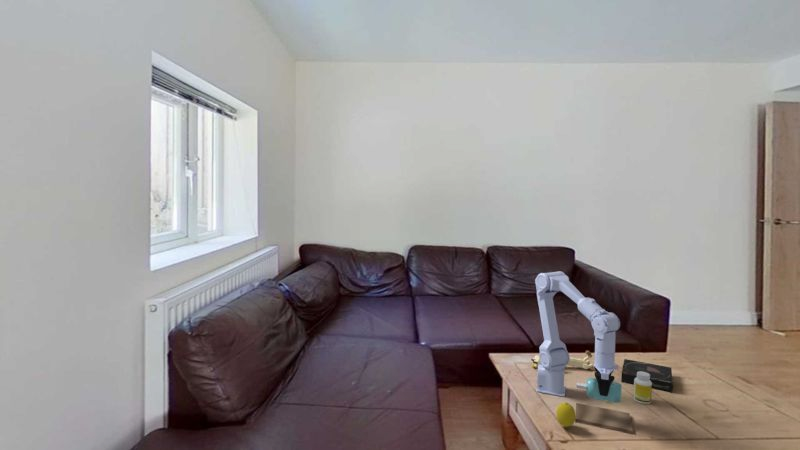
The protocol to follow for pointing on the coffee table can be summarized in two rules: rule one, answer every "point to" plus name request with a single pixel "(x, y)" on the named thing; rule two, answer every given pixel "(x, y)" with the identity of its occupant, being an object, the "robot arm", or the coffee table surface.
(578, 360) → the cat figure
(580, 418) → the serving board
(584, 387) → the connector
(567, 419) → the lemon
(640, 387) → the supplement bottle
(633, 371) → the portable cd player
